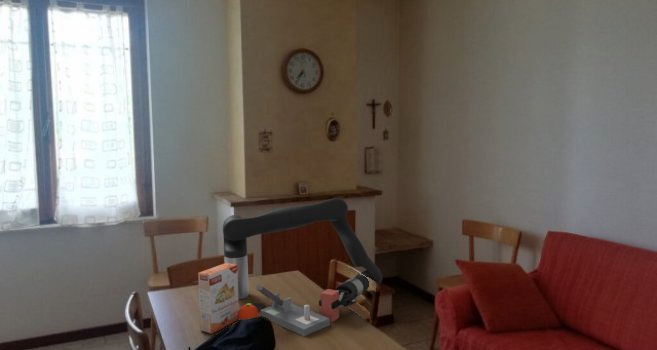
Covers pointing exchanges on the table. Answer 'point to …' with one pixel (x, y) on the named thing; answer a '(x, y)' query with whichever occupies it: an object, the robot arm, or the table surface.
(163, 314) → the table surface
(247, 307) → the clementine
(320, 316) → the grey mounting base plate
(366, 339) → the table surface
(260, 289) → the breaker lever
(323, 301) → the red tall block
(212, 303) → the cracker box
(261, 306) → the phone
